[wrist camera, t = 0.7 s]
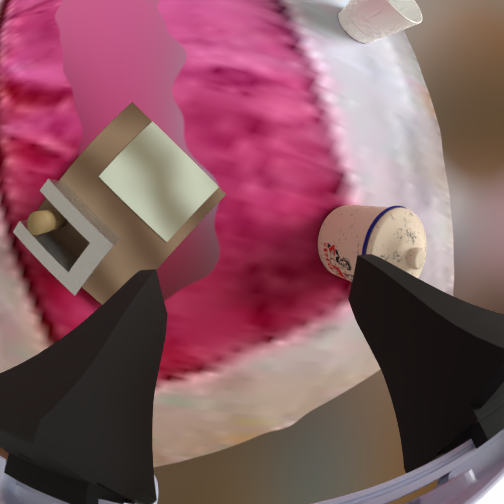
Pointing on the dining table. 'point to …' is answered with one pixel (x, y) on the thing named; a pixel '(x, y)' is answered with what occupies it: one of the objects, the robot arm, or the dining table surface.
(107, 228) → the c link
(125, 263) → the board
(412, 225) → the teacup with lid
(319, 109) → the dining table surface
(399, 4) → the white cup
